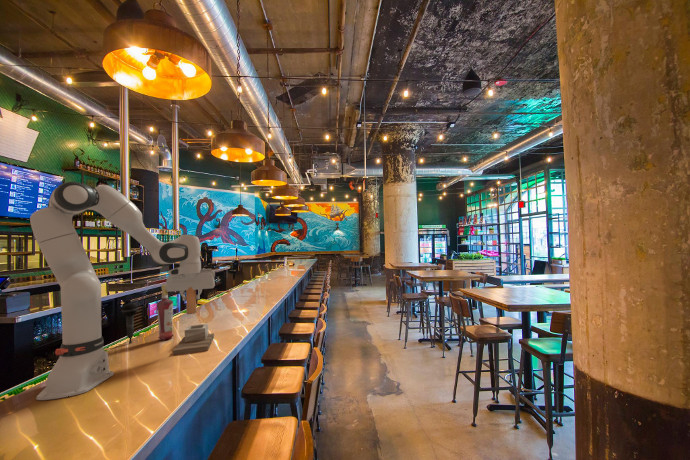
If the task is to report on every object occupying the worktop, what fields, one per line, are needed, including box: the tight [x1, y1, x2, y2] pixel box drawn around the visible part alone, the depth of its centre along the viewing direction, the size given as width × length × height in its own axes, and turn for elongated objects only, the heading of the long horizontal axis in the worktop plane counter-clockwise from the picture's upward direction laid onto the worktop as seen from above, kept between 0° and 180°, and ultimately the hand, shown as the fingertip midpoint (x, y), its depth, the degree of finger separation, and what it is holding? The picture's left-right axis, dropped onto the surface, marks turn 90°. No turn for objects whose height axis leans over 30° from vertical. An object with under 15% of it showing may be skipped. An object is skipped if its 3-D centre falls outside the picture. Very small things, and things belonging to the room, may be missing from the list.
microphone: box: [120, 302, 139, 344], centre depth 159 cm, size 7×7×20 cm
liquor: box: [156, 283, 174, 341], centre depth 164 cm, size 7×7×28 cm
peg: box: [185, 287, 197, 315], centre depth 145 cm, size 4×4×12 cm
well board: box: [172, 323, 215, 356], centre depth 150 cm, size 22×14×8 cm, turn 16°
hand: (191, 299), depth 145 cm, fingers closed on peg, 4 cm apart
